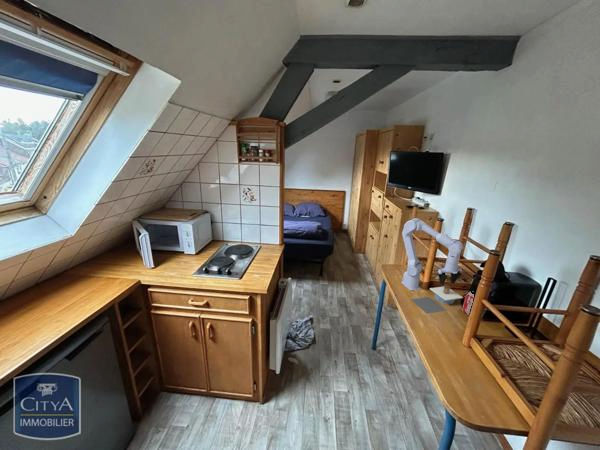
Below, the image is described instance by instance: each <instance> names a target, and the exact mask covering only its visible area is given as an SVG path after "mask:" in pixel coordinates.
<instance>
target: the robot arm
mask: <svg viewBox="0 0 600 450" xmlns="http://www.w3.org/2000/svg"><path fill="white" fill-rule="evenodd" d="M415 231H419V232H420V231H423V232H425V233H427V234H428V235H430V236H432V237H433V238H435V240H436V242H437V243H439V244H440V245H442V246H443V247H445V248H446V249H448V253H447V256H446V261H445V265H444V267H442V268H440V269H438V271H437V275H438V280H439V281H438V282H439V284H440V285H441V286H445V281H446V280H447V278H448V277H449V276H448V275H447V274H449V273H450V280H449V282H450V283H451V284H455V283H456V281H457V280H458V278H460V276H462V271H463V269H462V268H461V267H458V265H459V261H460V257H461V252H462V250H463V249H464V245H463V243H462V242H461V241H460V240H456V239H455V238H454V239H453V238H452V237H450V236H449V234H448V233H444V232H441V233H440V232H439V231H437V230H436V229H434V228H433V227H431V226H430V225H428V224H427V223H426V222H425V221H423V220H421V219H419V218H417V217H414V218H412V219H410V220H407V221H406V222H405V223H404V225H403V229H402V232H401V235H402V238H403V239H402V240H403V243H404V247H405V251H406V256H407V270H406V271H405V272H404V273H403V276H402V281H401V282H400V283H401V284H402V285H403V286H405V288H407V289H409V291H415V290H421V289H422V288H421V287H420V286H419V284H420V279H421V272H422V271H423V268H424V267H423V265H422V264H421V261H420V259H418V256H417V251H416V247H415V243H414V239H413V238H414V237H413V233H414V232H415Z"/></svg>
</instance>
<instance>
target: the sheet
mask: <svg viewBox="0 0 600 450" xmlns="http://www.w3.org/2000/svg"><path fill="white" fill-rule="evenodd" d="M429 290H430V291H431V292H433V293H434V294H435V293H436V294H437V295H438V296H440V297H441V298H442V299H444V300H445V301H447V300H454V299H455V300H459V299H464V297H463V296H462V295H460V294H458V293H457V292H456V291H454V290H453V289H451V286H450V285H447V284H444V285H443V286H438V287H430V288H429Z"/></svg>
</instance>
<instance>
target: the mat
mask: <svg viewBox="0 0 600 450" xmlns="http://www.w3.org/2000/svg"><path fill="white" fill-rule="evenodd" d="M410 301H411V302H413V303H414V304H415V305H416V306H417V307H418V308H419V309H421V310H422V311H423V312H424V313H425V314H432V313H441V312H445V311H447V309H446V308H444V307H443V306H442V305H441V304H439V303H438V302H436V301H435V299H433V298H432V297H430V296H425V297H418V298H411V299H410Z"/></svg>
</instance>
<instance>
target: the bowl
mask: <svg viewBox="0 0 600 450" xmlns="http://www.w3.org/2000/svg"><path fill="white" fill-rule="evenodd" d="M434 298H435V299H436V300H437V301H438V302H440V303H443V304H446V305H453V304H454V303H455V301H456V299H454V300H447V301H445V300H444V299H442V298H441V297H440V296H438V295H437V294H436V293H434Z"/></svg>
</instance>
